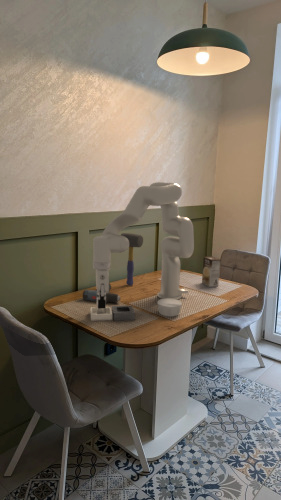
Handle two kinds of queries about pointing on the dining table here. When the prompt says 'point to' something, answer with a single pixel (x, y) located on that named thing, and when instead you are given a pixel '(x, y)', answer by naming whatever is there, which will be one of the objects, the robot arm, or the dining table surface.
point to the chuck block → (123, 313)
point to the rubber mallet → (133, 242)
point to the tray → (100, 316)
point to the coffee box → (211, 271)
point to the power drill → (93, 296)
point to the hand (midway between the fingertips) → (101, 305)
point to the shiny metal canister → (100, 310)
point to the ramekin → (169, 307)
